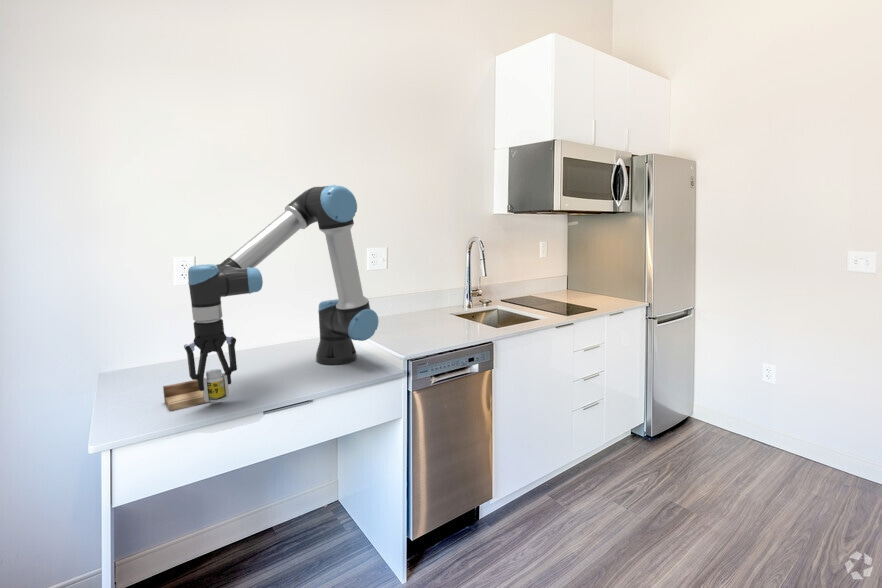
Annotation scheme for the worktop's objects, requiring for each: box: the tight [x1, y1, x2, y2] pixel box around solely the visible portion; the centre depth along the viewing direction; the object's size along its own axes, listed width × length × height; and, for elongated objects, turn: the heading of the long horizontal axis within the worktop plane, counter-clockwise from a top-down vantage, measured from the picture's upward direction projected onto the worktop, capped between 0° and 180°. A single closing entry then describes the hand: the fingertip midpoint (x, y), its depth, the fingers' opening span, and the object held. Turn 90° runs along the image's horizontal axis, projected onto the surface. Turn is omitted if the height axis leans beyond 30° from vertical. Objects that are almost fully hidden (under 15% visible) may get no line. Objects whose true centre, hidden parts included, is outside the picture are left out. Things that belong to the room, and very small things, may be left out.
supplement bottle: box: [205, 368, 226, 403], centre depth 137 cm, size 5×5×8 cm
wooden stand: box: [162, 377, 211, 412], centre depth 141 cm, size 14×8×5 cm, turn 129°
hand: (216, 397), depth 138 cm, fingers closed on supplement bottle, 5 cm apart
